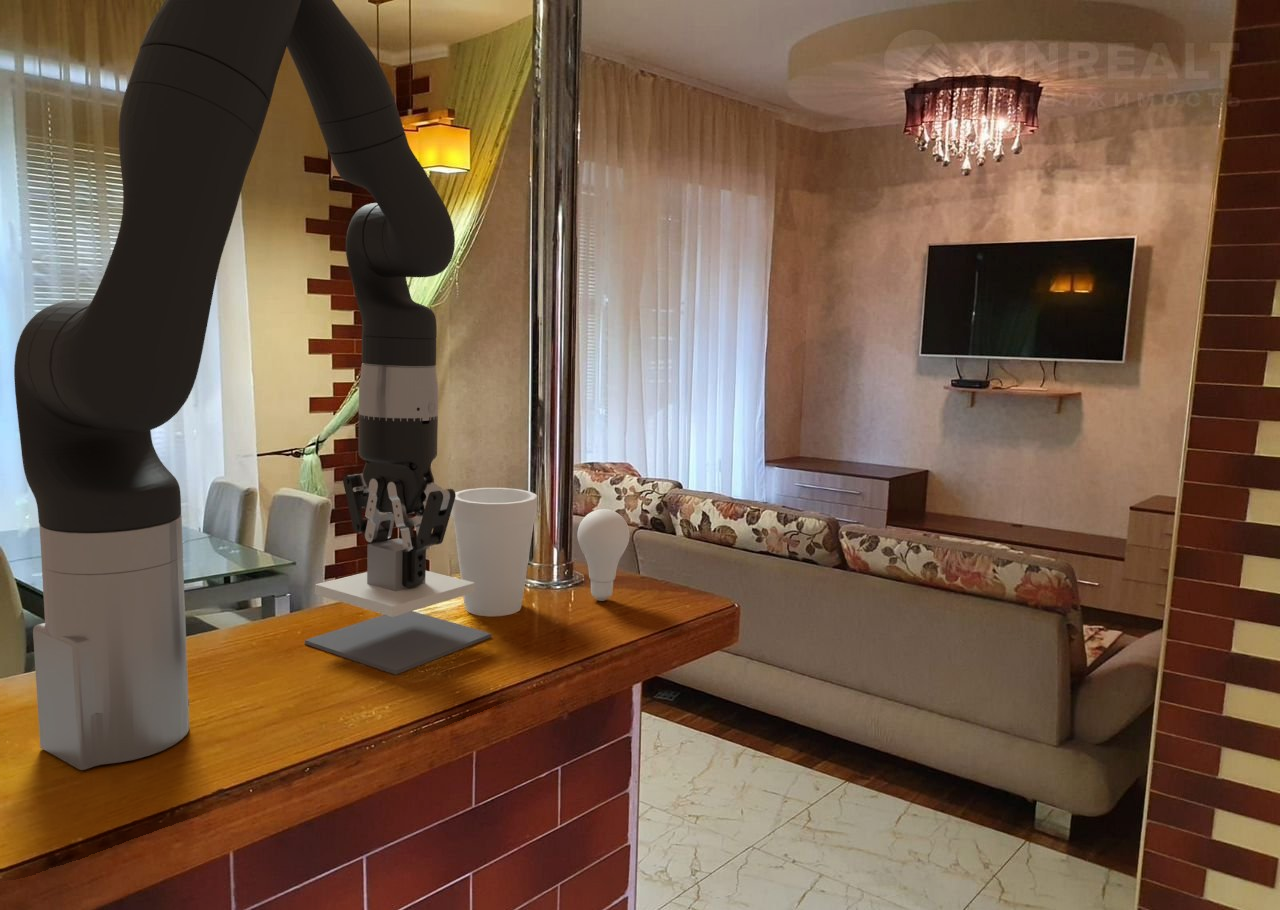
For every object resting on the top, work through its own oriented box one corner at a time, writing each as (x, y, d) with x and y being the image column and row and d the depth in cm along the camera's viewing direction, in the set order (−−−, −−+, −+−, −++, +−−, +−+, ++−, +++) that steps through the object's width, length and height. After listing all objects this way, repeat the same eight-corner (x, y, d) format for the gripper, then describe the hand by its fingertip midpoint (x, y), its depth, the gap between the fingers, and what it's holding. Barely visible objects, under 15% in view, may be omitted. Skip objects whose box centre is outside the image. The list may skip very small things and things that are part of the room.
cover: (392, 616, 87) (393, 564, 86) (315, 594, 93) (315, 544, 92) (474, 592, 96) (476, 544, 95) (399, 573, 102) (400, 527, 101)
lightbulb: (566, 603, 110) (568, 510, 108) (591, 590, 115) (594, 502, 114) (612, 611, 107) (615, 517, 106) (636, 598, 113) (639, 508, 111)
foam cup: (528, 622, 102) (529, 505, 100) (443, 619, 103) (443, 502, 101) (539, 596, 112) (541, 489, 110) (461, 593, 112) (462, 486, 110)
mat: (395, 674, 87) (395, 670, 87) (304, 643, 94) (304, 640, 94) (491, 637, 97) (491, 633, 97) (403, 612, 104) (403, 608, 104)
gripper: (319, 406, 93) (319, 576, 95) (422, 419, 85) (419, 603, 87) (378, 403, 99) (377, 562, 101) (479, 415, 91) (475, 587, 94)
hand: (396, 580), depth 94 cm, fingers closed on cover, 4 cm apart
